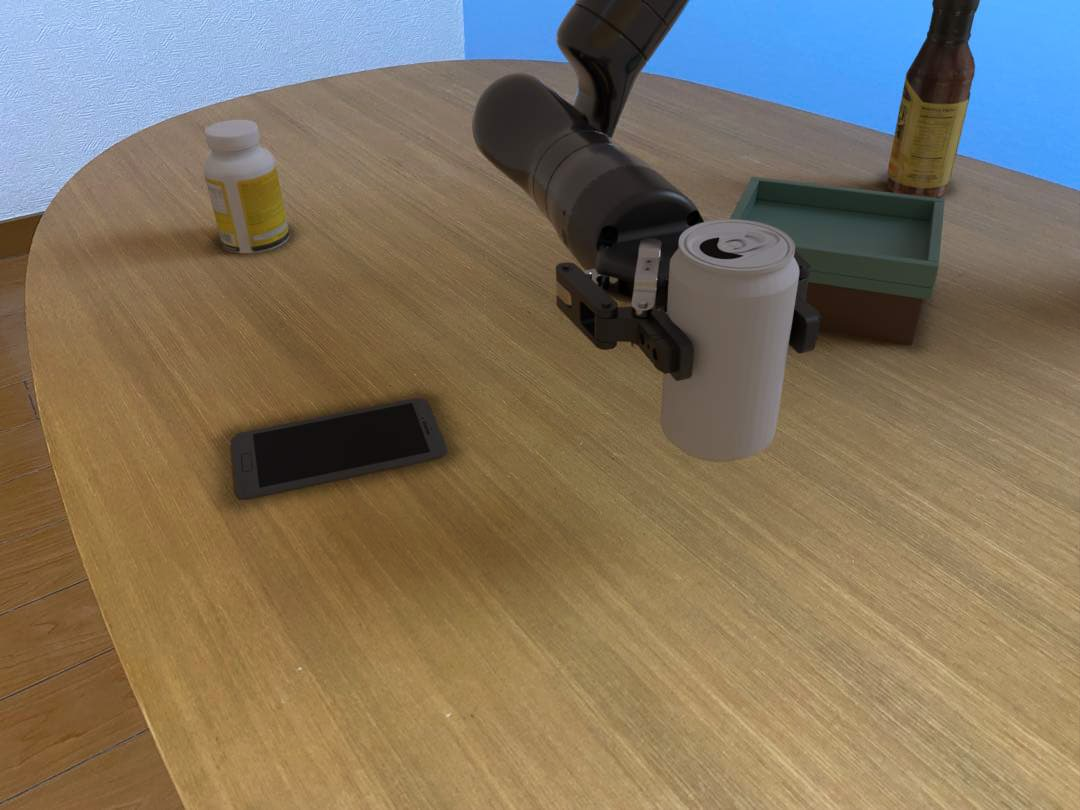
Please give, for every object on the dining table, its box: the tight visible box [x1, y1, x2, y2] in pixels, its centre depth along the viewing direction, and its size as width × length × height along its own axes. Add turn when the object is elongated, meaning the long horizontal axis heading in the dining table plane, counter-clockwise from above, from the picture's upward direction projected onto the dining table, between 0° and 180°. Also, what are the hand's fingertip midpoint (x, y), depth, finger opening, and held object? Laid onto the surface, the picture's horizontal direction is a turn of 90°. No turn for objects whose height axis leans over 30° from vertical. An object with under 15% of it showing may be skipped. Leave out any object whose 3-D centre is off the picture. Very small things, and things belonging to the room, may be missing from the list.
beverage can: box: [660, 218, 799, 463], centre depth 49 cm, size 6×6×12 cm
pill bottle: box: [202, 119, 290, 254], centre depth 88 cm, size 6×6×12 cm
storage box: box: [729, 176, 946, 346], centre depth 77 cm, size 16×13×8 cm
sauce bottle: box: [886, 0, 981, 198], centre depth 93 cm, size 6×6×20 cm
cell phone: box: [230, 397, 448, 501], centre depth 64 cm, size 7×14×1 cm, turn 108°
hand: (749, 350), depth 47 cm, fingers closed on beverage can, 6 cm apart
